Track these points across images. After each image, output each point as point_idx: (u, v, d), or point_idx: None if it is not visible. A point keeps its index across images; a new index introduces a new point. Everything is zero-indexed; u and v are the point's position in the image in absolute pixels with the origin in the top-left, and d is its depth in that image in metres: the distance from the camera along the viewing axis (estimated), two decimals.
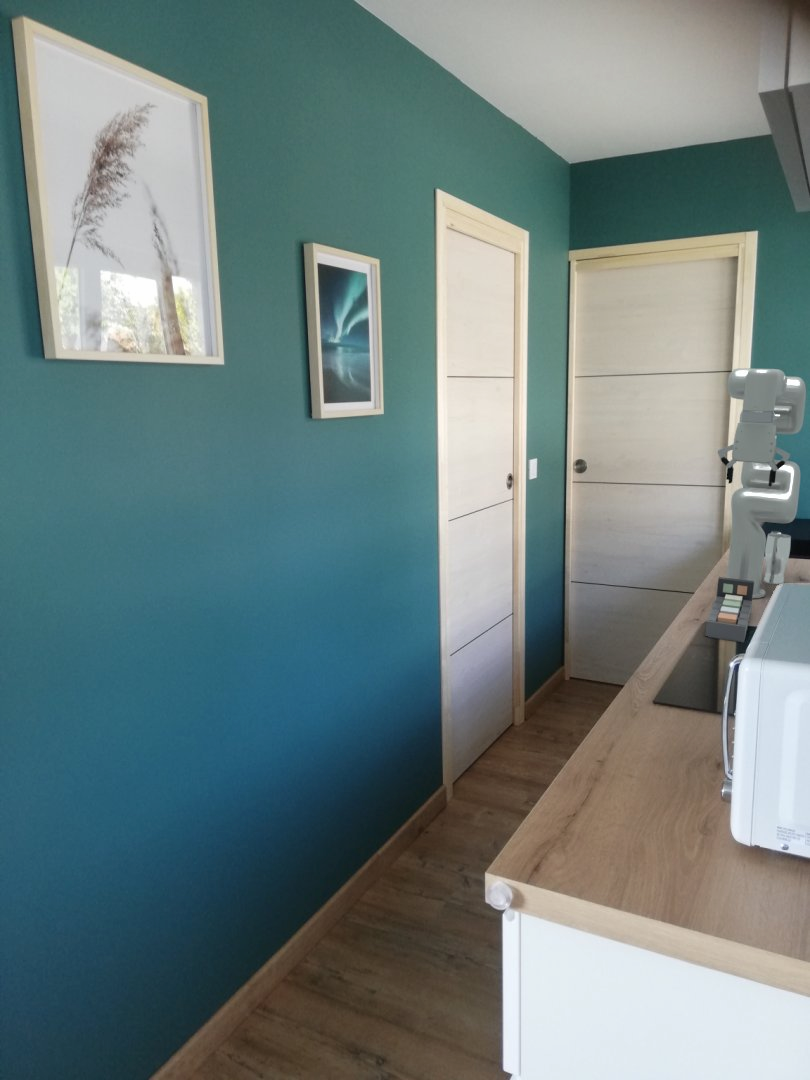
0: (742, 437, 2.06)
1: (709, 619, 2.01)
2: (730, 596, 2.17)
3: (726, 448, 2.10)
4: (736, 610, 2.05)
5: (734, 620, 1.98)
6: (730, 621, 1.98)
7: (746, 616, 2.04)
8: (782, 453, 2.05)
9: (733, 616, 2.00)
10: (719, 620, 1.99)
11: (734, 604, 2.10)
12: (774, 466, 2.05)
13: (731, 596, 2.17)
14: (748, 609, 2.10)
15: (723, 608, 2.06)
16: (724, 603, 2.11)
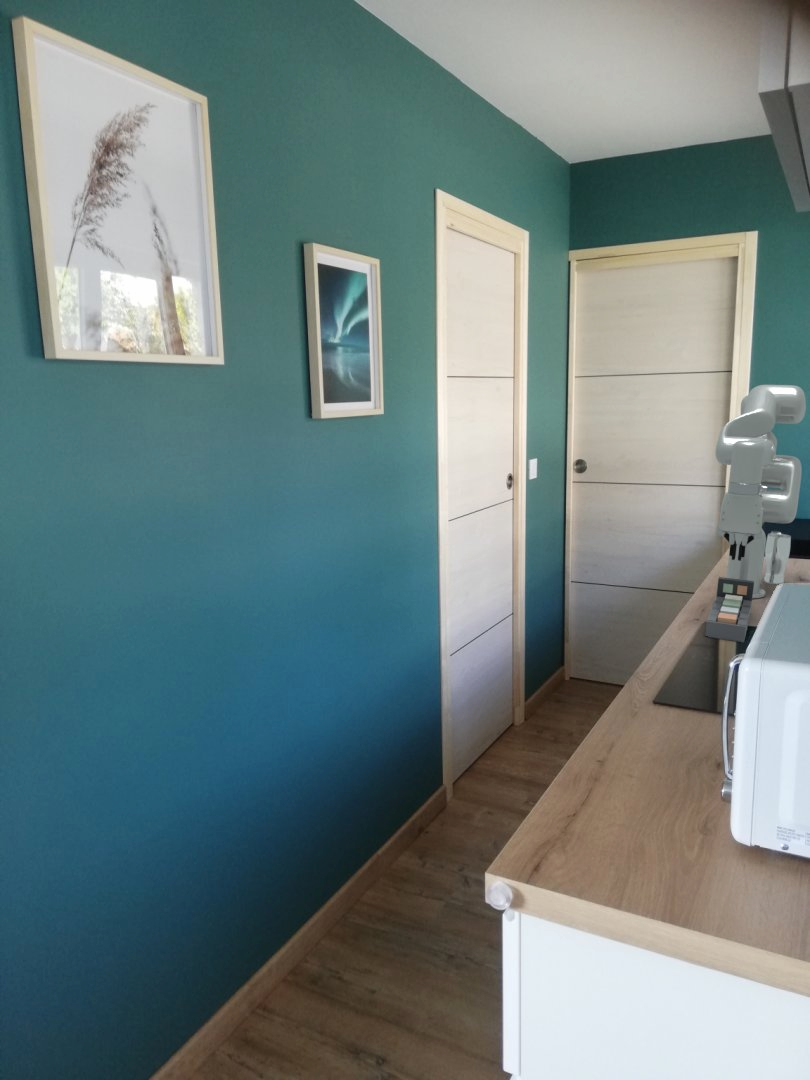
0: (729, 508, 2.05)
1: (709, 619, 2.01)
2: (730, 596, 2.17)
3: None
4: (736, 610, 2.05)
5: (734, 620, 1.98)
6: (730, 621, 1.98)
7: (746, 616, 2.04)
8: None
9: (733, 616, 2.00)
10: (719, 620, 1.99)
11: (734, 604, 2.10)
12: (745, 541, 2.05)
13: (731, 596, 2.17)
14: (748, 609, 2.10)
15: (723, 608, 2.06)
16: (724, 603, 2.11)
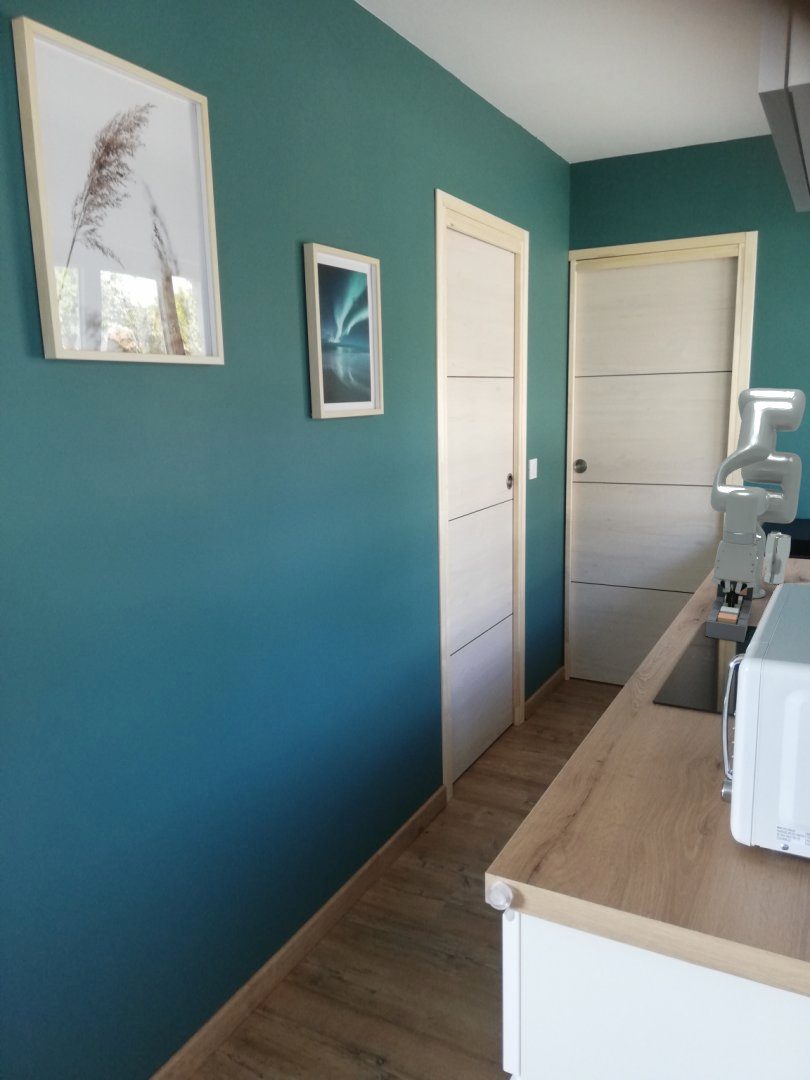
0: (724, 557, 2.07)
1: (709, 619, 2.01)
2: None
3: None
4: (736, 610, 2.05)
5: (734, 620, 1.98)
6: (730, 621, 1.98)
7: (746, 616, 2.04)
8: None
9: (733, 616, 2.00)
10: (719, 620, 1.99)
11: (734, 607, 2.10)
12: (739, 589, 2.08)
13: None
14: (748, 609, 2.10)
15: (723, 608, 2.06)
16: (724, 606, 2.11)
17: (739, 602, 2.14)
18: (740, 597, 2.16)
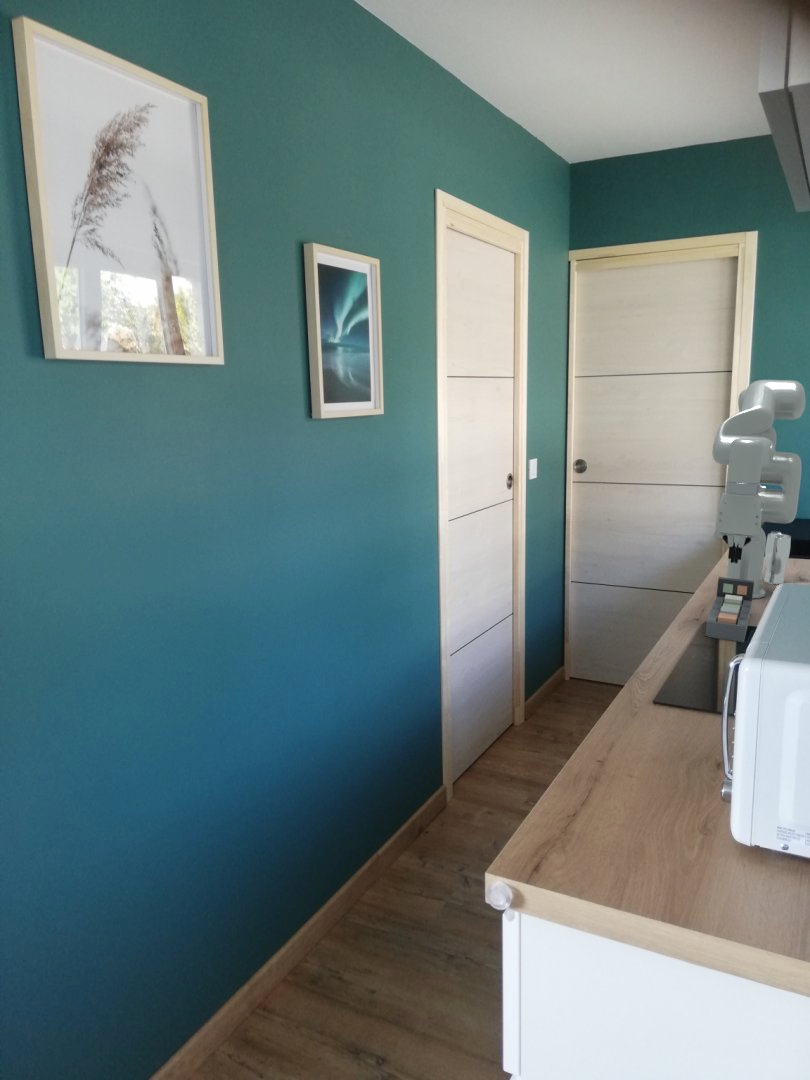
0: (726, 509, 1.97)
1: (709, 619, 2.01)
2: (730, 596, 2.17)
3: None
4: (736, 610, 2.05)
5: (734, 620, 1.98)
6: (730, 621, 1.98)
7: (746, 616, 2.04)
8: None
9: (733, 616, 2.00)
10: (719, 620, 1.99)
11: (734, 607, 2.10)
12: (742, 543, 1.98)
13: (731, 596, 2.17)
14: (748, 609, 2.10)
15: (723, 608, 2.06)
16: (724, 606, 2.11)
17: (739, 602, 2.14)
18: (740, 597, 2.16)
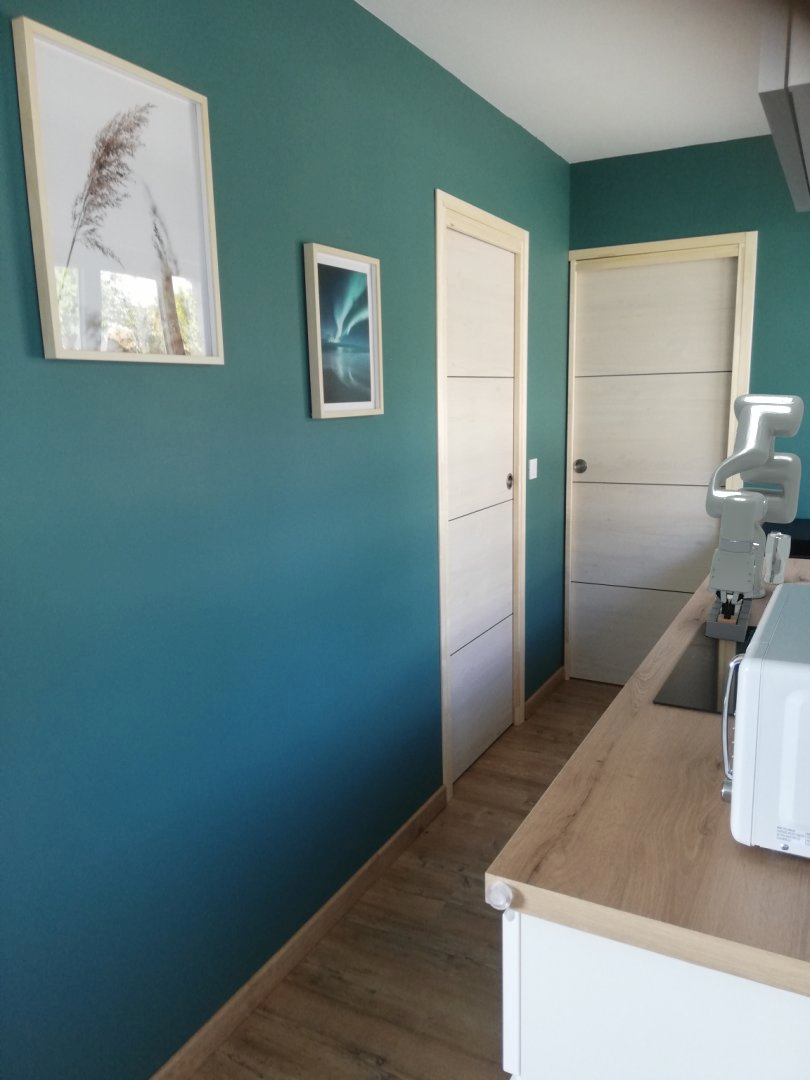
0: (719, 565, 1.96)
1: (709, 619, 2.01)
2: (730, 596, 2.17)
3: None
4: (736, 610, 2.05)
5: (734, 621, 1.98)
6: (730, 622, 1.98)
7: (746, 616, 2.04)
8: None
9: (733, 617, 2.00)
10: (719, 621, 1.99)
11: None
12: (735, 599, 1.97)
13: (731, 596, 2.17)
14: (748, 609, 2.10)
15: None
16: None
17: (739, 602, 2.14)
18: None
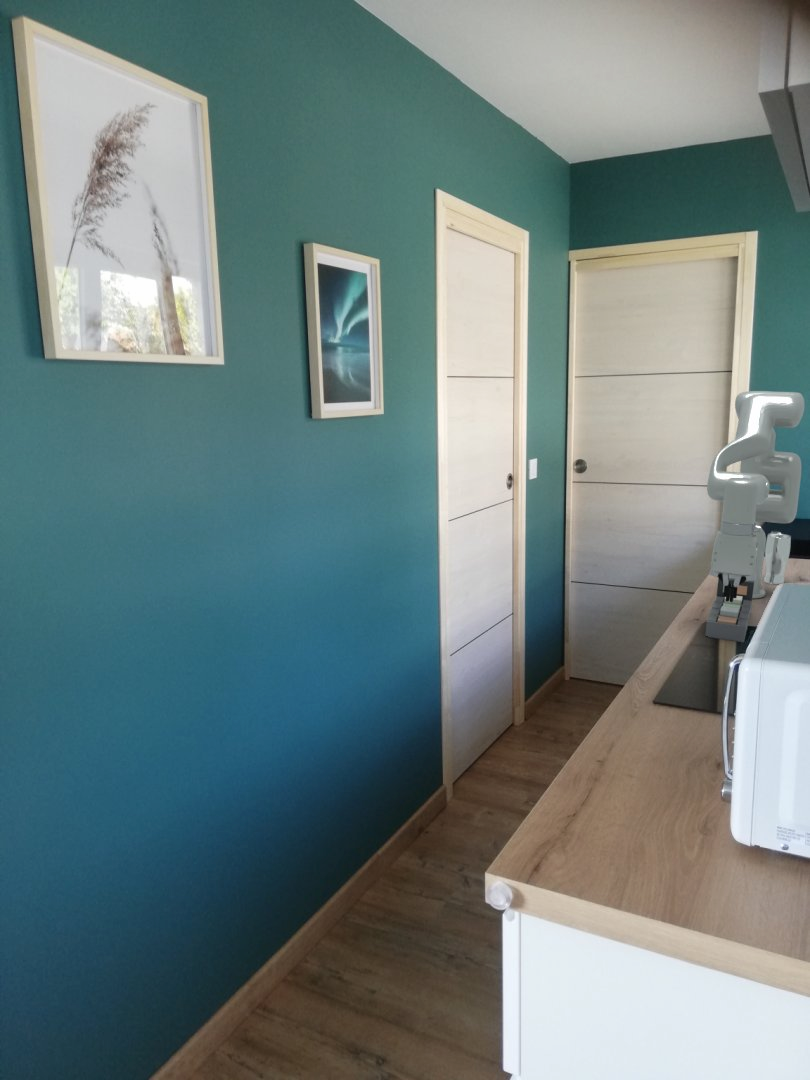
0: (721, 549, 1.96)
1: (709, 619, 2.01)
2: None
3: None
4: (736, 610, 2.05)
5: (734, 623, 1.98)
6: None
7: (746, 616, 2.04)
8: None
9: (733, 619, 2.00)
10: None
11: (734, 607, 2.10)
12: (737, 582, 1.97)
13: None
14: (748, 609, 2.10)
15: (723, 608, 2.06)
16: (724, 606, 2.11)
17: (739, 602, 2.14)
18: (740, 597, 2.16)
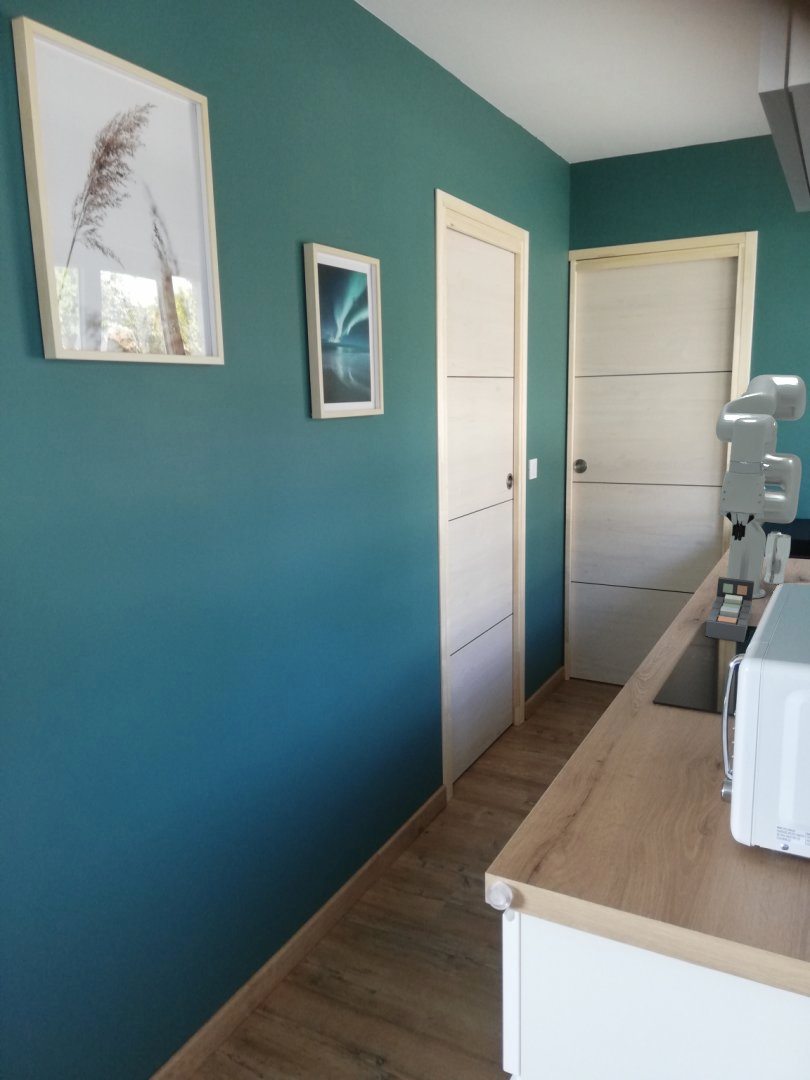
0: (730, 488, 1.99)
1: (709, 619, 2.01)
2: (730, 596, 2.17)
3: None
4: (736, 610, 2.05)
5: (734, 623, 1.98)
6: None
7: (746, 616, 2.04)
8: None
9: (733, 619, 2.00)
10: None
11: (734, 607, 2.10)
12: (746, 521, 2.01)
13: (731, 596, 2.17)
14: (748, 609, 2.10)
15: (723, 608, 2.06)
16: (724, 606, 2.11)
17: (739, 602, 2.14)
18: (740, 597, 2.16)
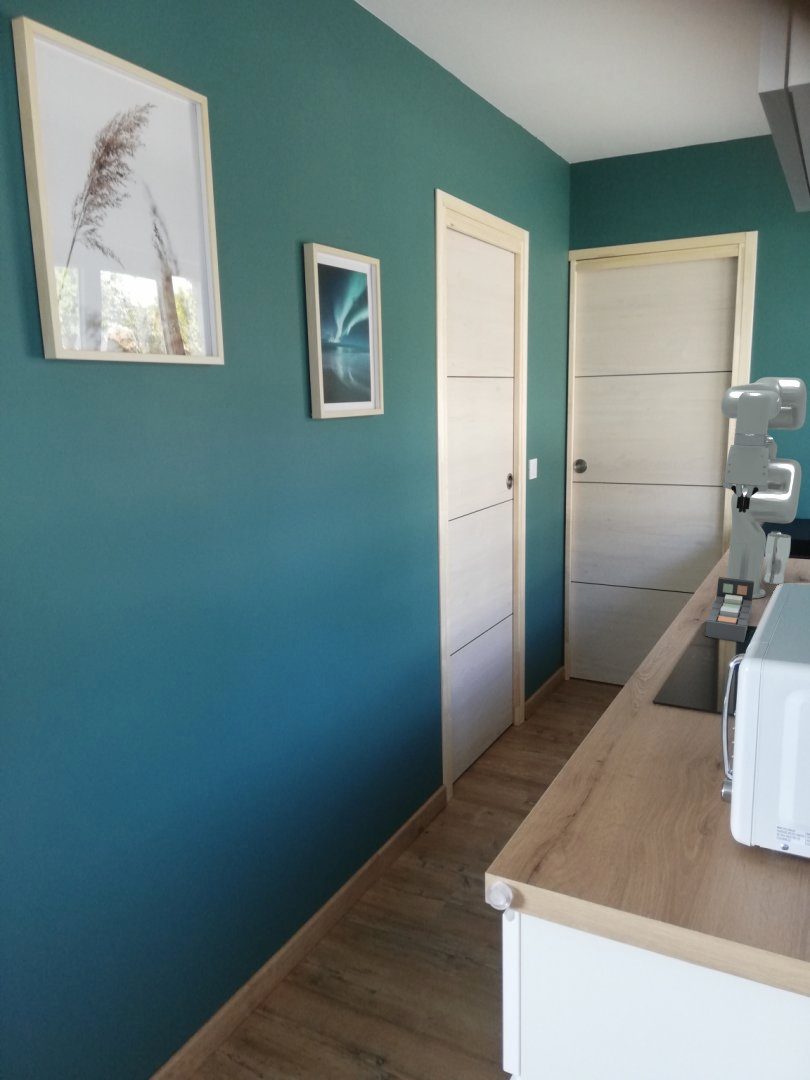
0: (735, 460, 2.05)
1: (709, 619, 2.01)
2: (730, 596, 2.17)
3: None
4: (736, 610, 2.05)
5: (734, 623, 1.98)
6: None
7: (746, 616, 2.04)
8: None
9: (733, 619, 2.00)
10: None
11: (734, 607, 2.10)
12: (750, 493, 2.06)
13: (731, 596, 2.17)
14: (748, 609, 2.10)
15: (723, 608, 2.06)
16: (724, 606, 2.11)
17: (739, 602, 2.14)
18: (740, 597, 2.16)
